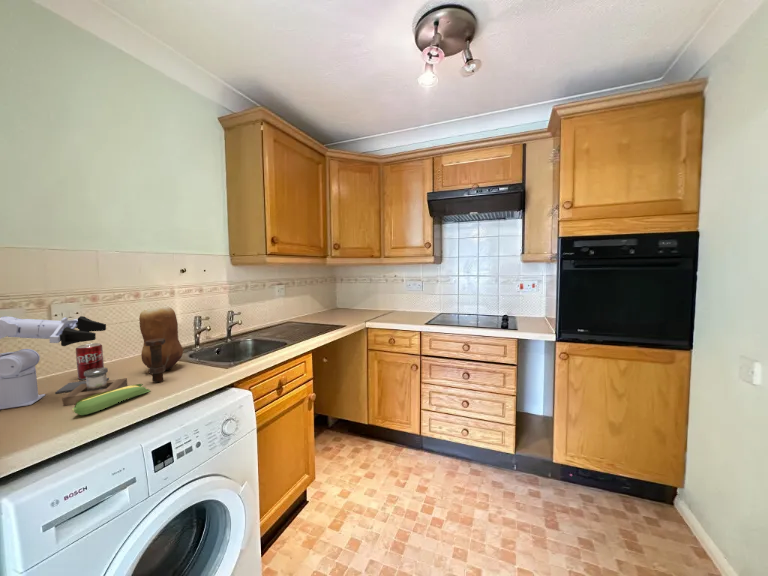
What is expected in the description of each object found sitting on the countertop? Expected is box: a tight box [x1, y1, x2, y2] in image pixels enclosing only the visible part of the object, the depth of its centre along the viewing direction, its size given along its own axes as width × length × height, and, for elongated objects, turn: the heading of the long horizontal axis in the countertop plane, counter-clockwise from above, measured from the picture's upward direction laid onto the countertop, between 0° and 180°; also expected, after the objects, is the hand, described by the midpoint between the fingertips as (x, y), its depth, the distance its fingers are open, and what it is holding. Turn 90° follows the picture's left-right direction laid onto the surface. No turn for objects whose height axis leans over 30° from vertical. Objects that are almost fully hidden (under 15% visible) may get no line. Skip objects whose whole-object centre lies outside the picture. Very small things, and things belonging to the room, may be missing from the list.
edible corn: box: [71, 383, 152, 416], centre depth 93 cm, size 5×20×5 cm, turn 159°
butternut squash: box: [138, 306, 185, 371], centre depth 123 cm, size 14×13×25 cm
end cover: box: [84, 367, 108, 391], centre depth 100 cm, size 6×6×8 cm
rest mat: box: [55, 377, 110, 395], centre depth 108 cm, size 11×9×1 cm
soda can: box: [75, 342, 105, 381], centre depth 117 cm, size 7×7×12 cm
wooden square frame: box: [62, 377, 128, 407], centre depth 100 cm, size 12×12×2 cm
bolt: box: [145, 338, 166, 384], centre depth 111 cm, size 6×5×15 cm
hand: (100, 331), depth 102 cm, fingers open, 7 cm apart
